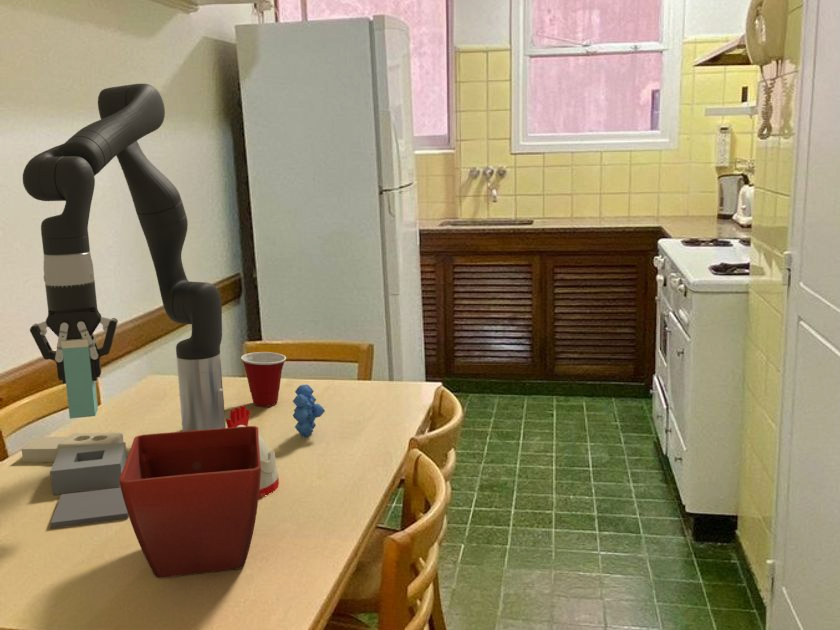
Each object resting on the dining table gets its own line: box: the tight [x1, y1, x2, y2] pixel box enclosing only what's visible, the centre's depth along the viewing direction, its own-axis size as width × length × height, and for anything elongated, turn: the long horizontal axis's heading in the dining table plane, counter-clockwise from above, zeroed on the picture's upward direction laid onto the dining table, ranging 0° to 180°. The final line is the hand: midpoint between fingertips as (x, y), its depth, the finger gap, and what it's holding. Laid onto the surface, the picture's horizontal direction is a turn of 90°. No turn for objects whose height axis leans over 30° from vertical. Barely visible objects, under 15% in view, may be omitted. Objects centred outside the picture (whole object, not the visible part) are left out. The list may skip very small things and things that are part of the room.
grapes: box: [292, 384, 326, 438], centre depth 176 cm, size 12×7×12 cm, turn 176°
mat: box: [50, 487, 129, 529], centre depth 143 cm, size 12×12×1 cm
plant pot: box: [119, 425, 261, 579], centre depth 124 cm, size 19×19×17 cm
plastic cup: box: [240, 351, 287, 408], centre depth 201 cm, size 11×11×12 cm
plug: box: [61, 339, 99, 419], centre depth 139 cm, size 4×4×13 cm
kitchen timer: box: [225, 405, 280, 499], centre depth 150 cm, size 14×14×15 cm
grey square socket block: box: [49, 441, 128, 496], centre depth 157 cm, size 12×12×4 cm
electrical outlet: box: [21, 432, 125, 463], centre depth 169 cm, size 7×4×18 cm
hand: (80, 380), depth 139 cm, fingers closed on plug, 4 cm apart
